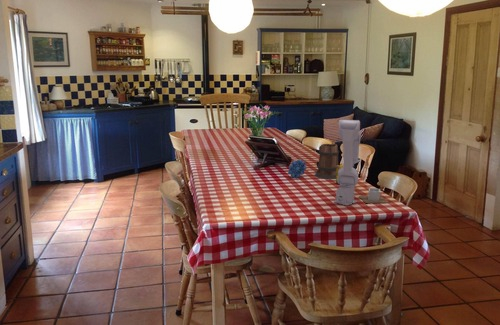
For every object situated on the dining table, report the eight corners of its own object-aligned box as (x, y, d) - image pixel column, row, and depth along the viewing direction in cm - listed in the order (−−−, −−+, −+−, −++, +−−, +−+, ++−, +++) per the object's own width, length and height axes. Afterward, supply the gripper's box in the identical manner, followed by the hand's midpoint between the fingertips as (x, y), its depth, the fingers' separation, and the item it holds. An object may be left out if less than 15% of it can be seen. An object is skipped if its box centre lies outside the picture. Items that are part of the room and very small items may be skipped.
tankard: (346, 178, 283) (347, 146, 278) (321, 180, 278) (322, 148, 274) (329, 169, 305) (330, 140, 300) (306, 171, 300) (307, 141, 296)
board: (388, 203, 234) (389, 196, 233) (365, 204, 233) (366, 196, 232) (380, 196, 245) (381, 189, 244) (358, 197, 244) (359, 189, 244)
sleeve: (379, 201, 235) (379, 192, 234) (368, 200, 237) (368, 191, 236) (379, 198, 241) (380, 189, 240) (368, 197, 242) (369, 188, 241)
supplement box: (335, 183, 272) (336, 165, 269) (344, 182, 274) (345, 164, 272) (340, 185, 266) (341, 167, 264) (349, 184, 269) (350, 166, 266)
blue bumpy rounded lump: (304, 175, 288) (305, 157, 285) (307, 178, 281) (307, 159, 279) (286, 176, 286) (286, 157, 284) (288, 179, 280) (289, 160, 277)
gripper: (360, 155, 239) (358, 180, 242) (361, 150, 253) (360, 173, 256) (346, 154, 241) (345, 179, 244) (348, 149, 255) (347, 172, 258)
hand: (351, 176), depth 250 cm, fingers open, 7 cm apart
